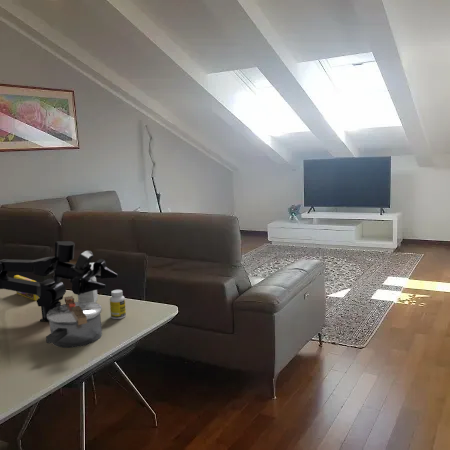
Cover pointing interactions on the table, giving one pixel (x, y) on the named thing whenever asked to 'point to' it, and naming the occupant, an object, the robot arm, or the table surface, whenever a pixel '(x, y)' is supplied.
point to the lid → (74, 312)
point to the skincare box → (89, 293)
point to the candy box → (31, 296)
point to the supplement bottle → (117, 304)
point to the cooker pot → (75, 333)
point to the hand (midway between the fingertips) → (111, 281)
